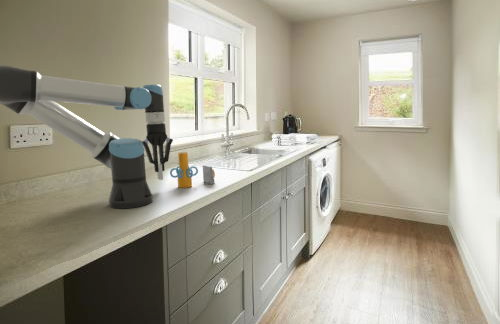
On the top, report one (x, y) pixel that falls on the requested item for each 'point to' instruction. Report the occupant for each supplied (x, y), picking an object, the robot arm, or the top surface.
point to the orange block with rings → (184, 171)
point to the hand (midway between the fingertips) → (160, 179)
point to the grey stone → (208, 174)
